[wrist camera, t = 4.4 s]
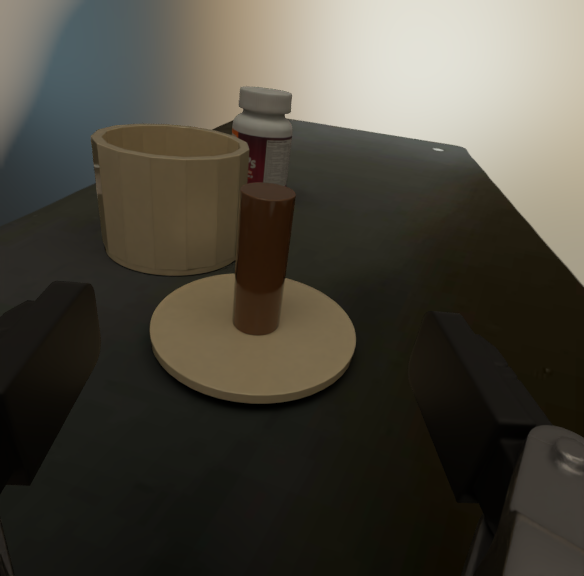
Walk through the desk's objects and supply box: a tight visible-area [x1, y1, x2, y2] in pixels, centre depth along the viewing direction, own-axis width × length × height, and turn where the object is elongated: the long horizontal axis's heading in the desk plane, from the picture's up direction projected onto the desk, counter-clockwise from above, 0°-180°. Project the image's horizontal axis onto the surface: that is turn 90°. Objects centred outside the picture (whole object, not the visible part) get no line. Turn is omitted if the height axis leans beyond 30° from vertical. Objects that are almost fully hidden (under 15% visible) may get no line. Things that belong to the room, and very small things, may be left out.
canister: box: [91, 124, 249, 276], centre depth 33 cm, size 11×11×8 cm
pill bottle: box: [232, 87, 292, 187], centre depth 44 cm, size 6×6×11 cm
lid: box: [150, 182, 356, 404], centre depth 23 cm, size 12×12×9 cm
